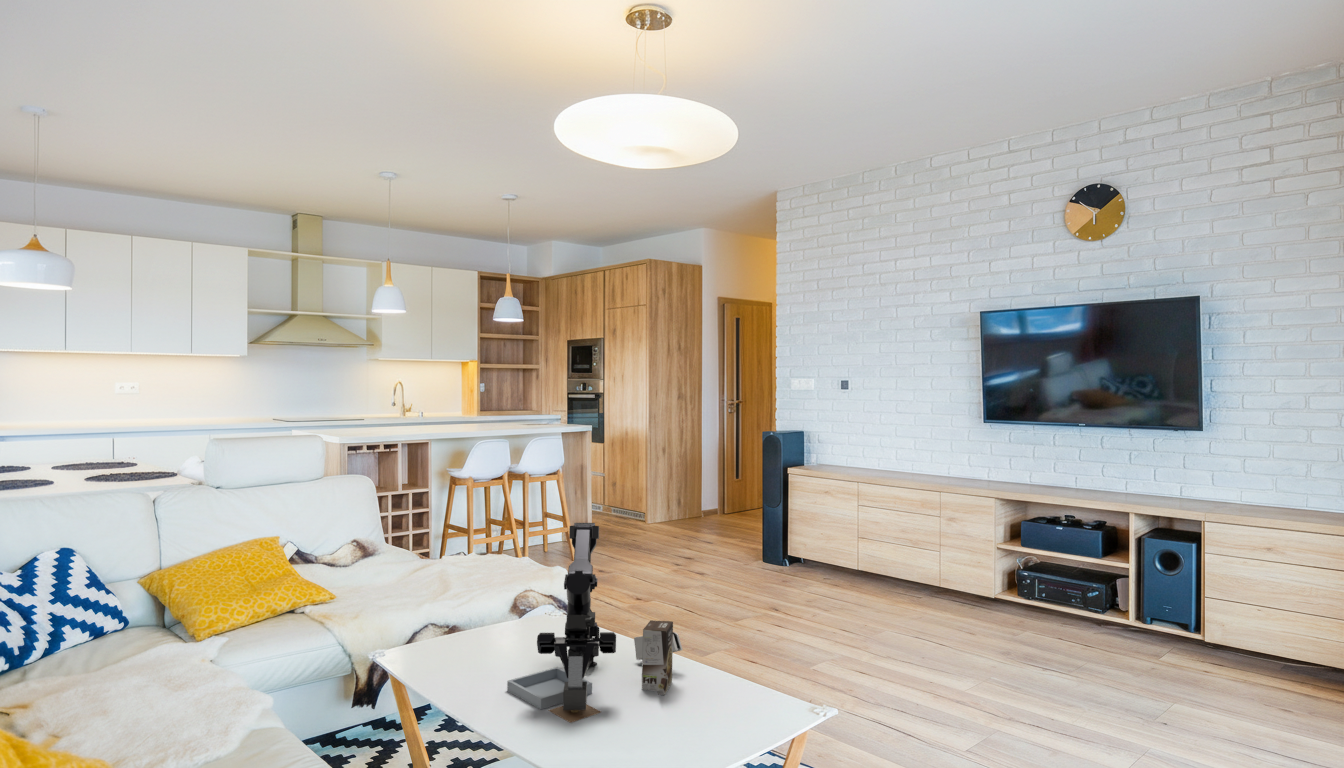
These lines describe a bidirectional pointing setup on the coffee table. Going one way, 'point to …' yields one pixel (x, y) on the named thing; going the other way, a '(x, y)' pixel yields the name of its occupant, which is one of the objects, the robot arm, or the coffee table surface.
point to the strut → (575, 684)
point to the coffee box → (657, 656)
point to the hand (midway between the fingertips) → (575, 677)
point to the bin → (542, 687)
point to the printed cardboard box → (639, 645)
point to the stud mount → (574, 713)
